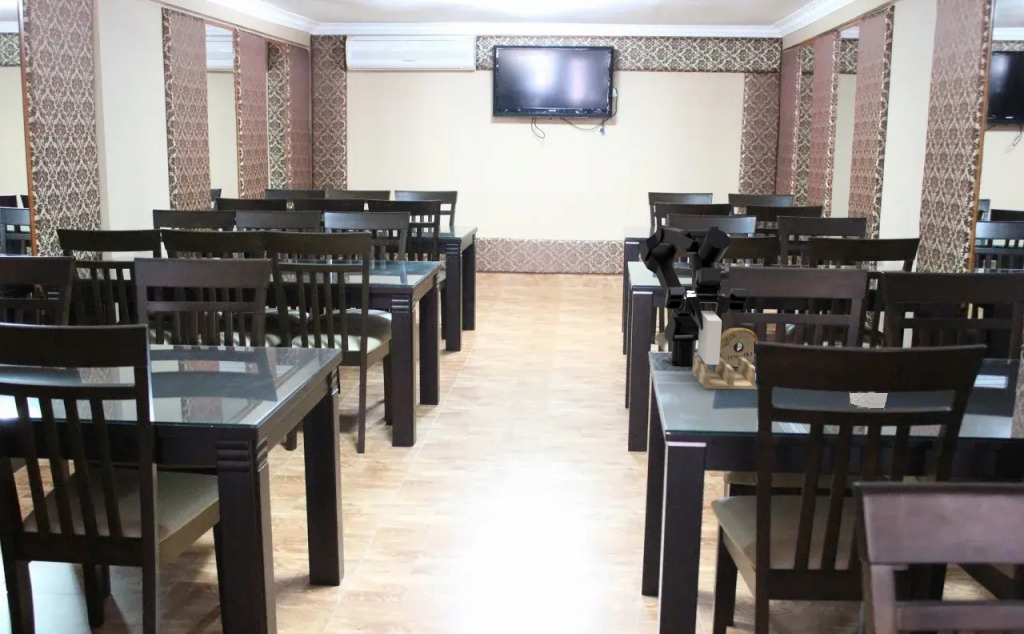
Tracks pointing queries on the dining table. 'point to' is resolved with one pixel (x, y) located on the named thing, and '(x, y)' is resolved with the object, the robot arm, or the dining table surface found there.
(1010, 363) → the dining table surface
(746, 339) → the stone disc
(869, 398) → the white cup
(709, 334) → the white block
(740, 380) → the plate rack
